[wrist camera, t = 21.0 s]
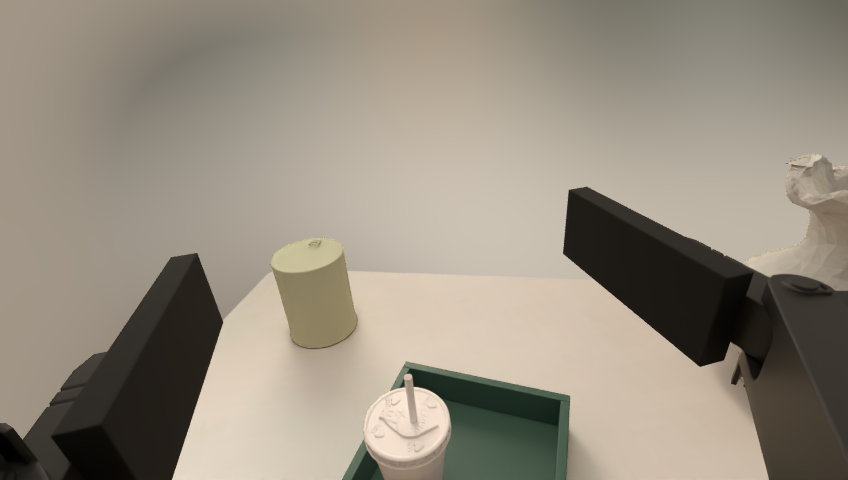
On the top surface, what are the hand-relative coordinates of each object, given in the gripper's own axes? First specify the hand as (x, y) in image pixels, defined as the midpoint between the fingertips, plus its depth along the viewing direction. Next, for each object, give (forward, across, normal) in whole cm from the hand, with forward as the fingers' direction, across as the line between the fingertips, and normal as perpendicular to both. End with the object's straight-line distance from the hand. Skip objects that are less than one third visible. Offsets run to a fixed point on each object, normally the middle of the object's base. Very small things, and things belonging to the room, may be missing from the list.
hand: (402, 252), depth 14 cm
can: (+35, -7, -28) cm, 45 cm away
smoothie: (+8, 0, -28) cm, 29 cm away
